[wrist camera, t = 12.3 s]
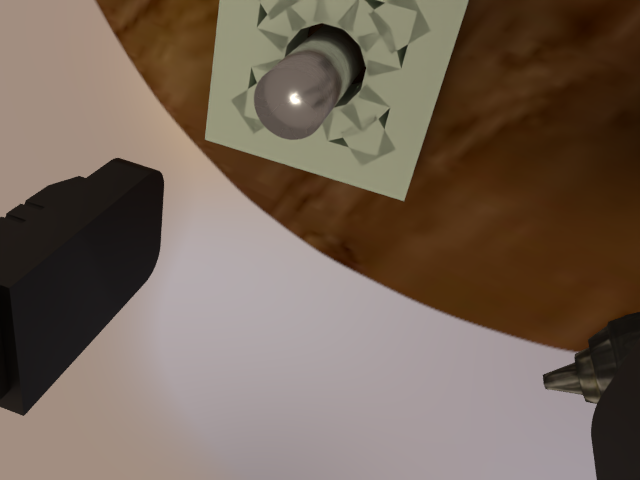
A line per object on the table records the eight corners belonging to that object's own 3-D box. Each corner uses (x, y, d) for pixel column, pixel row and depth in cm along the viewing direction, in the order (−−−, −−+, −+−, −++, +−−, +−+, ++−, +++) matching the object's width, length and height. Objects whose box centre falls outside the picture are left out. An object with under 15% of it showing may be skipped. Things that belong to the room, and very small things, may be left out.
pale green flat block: (480, -37, 36) (476, -25, 32) (413, 170, 44) (403, 201, 40) (259, -94, 38) (229, -90, 34) (232, 115, 46) (204, 139, 41)
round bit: (376, 26, 40) (332, 79, 30) (362, 82, 42) (317, 148, 32) (321, 11, 40) (259, 57, 30) (310, 67, 42) (249, 127, 32)
